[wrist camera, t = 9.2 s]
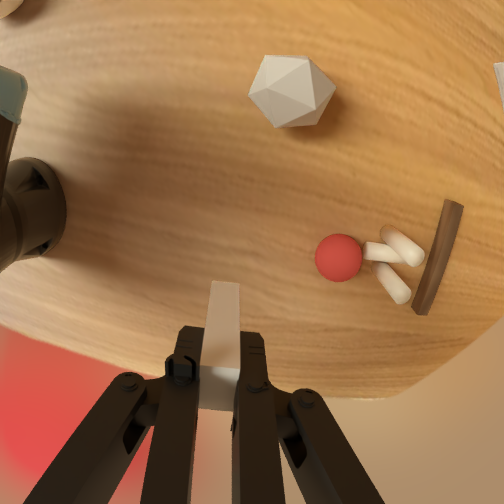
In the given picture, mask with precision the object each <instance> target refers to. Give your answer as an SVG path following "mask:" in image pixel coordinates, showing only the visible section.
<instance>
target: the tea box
mask: <svg viewBox="0 0 504 504" xmlns="http://www.w3.org/2000/svg"><path fill="white" fill-rule="evenodd" d="M493 67H494V70H495V74H496V78H497V83H498V87H499V91H500V96H501V101H502V106H503V111H504V62H499V63H494V64H493Z"/></svg>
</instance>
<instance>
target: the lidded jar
mask: <svg viewBox="0 0 504 504" xmlns="http://www.w3.org/2000/svg"><path fill="white" fill-rule="evenodd" d="M23 1H24V0H0V19H1V18H3V17H5V16H7V15H9V14H10V13H12V12H14V11H15V10H16V9H17V8H18V7H19V6H20V5H21V4H22V3H23Z"/></svg>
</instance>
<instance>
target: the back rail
mask: <svg viewBox="0 0 504 504" xmlns="http://www.w3.org/2000/svg"><path fill="white" fill-rule="evenodd" d="M463 208H464V206H463V205H461V204H458V203H456V202H454V201H450V200H447V199H445V201H444V205H443V209H442V213H441V217H440V221H439V225H438V228H437V232H436V235H435V239H434V242H433V245H432V249H431V252H430V255H429V258H428V261H427V264H426V267H425V270H424V273H423V276H422V279H421V282H420V285H419V287H418V290H417V293H416V296H415V298H414V301H413V303H412V306H411V307H412V309H413V310H414V311H415V312H416V314H417V315H428V312H429V310H430V307H431V305H432V303H433V300H434V298H435V295H436V292H437V290H438V287H439V285H440V282H441V279H442V276H443V274H444V271H445V268H446V265H447V262H448V259H449V256H450V253H451V250H452V247H453V244H454V240H455V237H456V234H457V230H458V227H459V223H460V219H461V216H462V212H463Z"/></svg>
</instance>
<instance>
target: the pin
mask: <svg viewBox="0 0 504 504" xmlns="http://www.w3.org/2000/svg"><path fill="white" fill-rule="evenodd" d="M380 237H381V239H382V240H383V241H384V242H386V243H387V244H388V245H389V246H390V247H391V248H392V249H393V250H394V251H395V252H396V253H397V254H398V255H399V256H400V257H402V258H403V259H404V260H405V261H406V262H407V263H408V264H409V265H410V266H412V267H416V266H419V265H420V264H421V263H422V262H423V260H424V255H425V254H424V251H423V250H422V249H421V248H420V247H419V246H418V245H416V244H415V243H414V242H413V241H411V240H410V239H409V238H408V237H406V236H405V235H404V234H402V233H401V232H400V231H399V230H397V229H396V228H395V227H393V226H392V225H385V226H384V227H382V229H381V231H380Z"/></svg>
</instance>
